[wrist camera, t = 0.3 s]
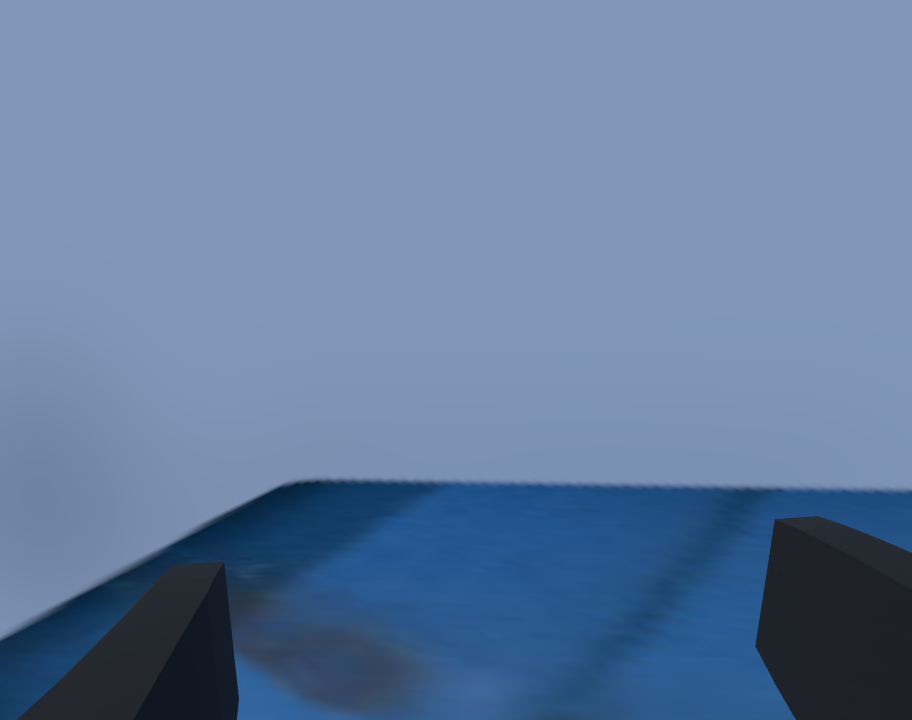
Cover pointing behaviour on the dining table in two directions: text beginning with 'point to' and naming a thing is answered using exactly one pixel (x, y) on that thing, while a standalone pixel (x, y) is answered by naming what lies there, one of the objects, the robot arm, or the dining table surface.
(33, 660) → the dining table surface
